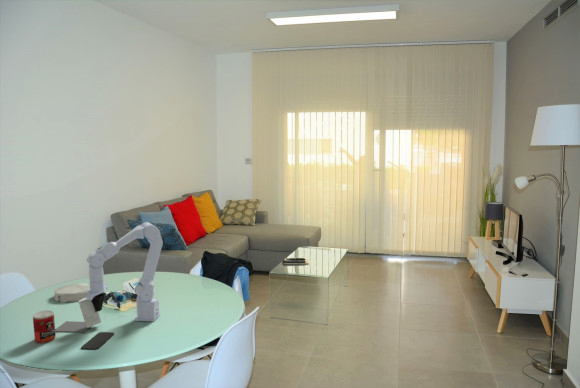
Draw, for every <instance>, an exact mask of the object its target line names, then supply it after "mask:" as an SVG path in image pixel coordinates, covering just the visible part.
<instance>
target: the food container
mask: <svg viewBox="0 0 580 388" xmlns="http://www.w3.org/2000/svg"><path fill="white" fill-rule="evenodd" d="M89 289H90V284H87V283H72V284H67V285H62V286H59V287H57V288H56V289H55V290H54V291H53V292H54V297H53V299H54V300H55V302H61V303H67V302H77V301H79V300H82V299H85V298H87V295H88V294H89V292H88V290H89Z"/></svg>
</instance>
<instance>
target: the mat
mask: <svg viewBox="0 0 580 388" xmlns="http://www.w3.org/2000/svg"><path fill="white" fill-rule="evenodd" d="M92 327H93V326H91V327H89V328H87V327H86V324H85V321H74V320H73V321H68V320H67V321H65V322H63V323H62V324H61V325H59V326H58V327H57V328H56V327H55V333H78V334H79V333H80V334H81V333H86V332H87V331H88V330H90V329H91V328H92Z"/></svg>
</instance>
